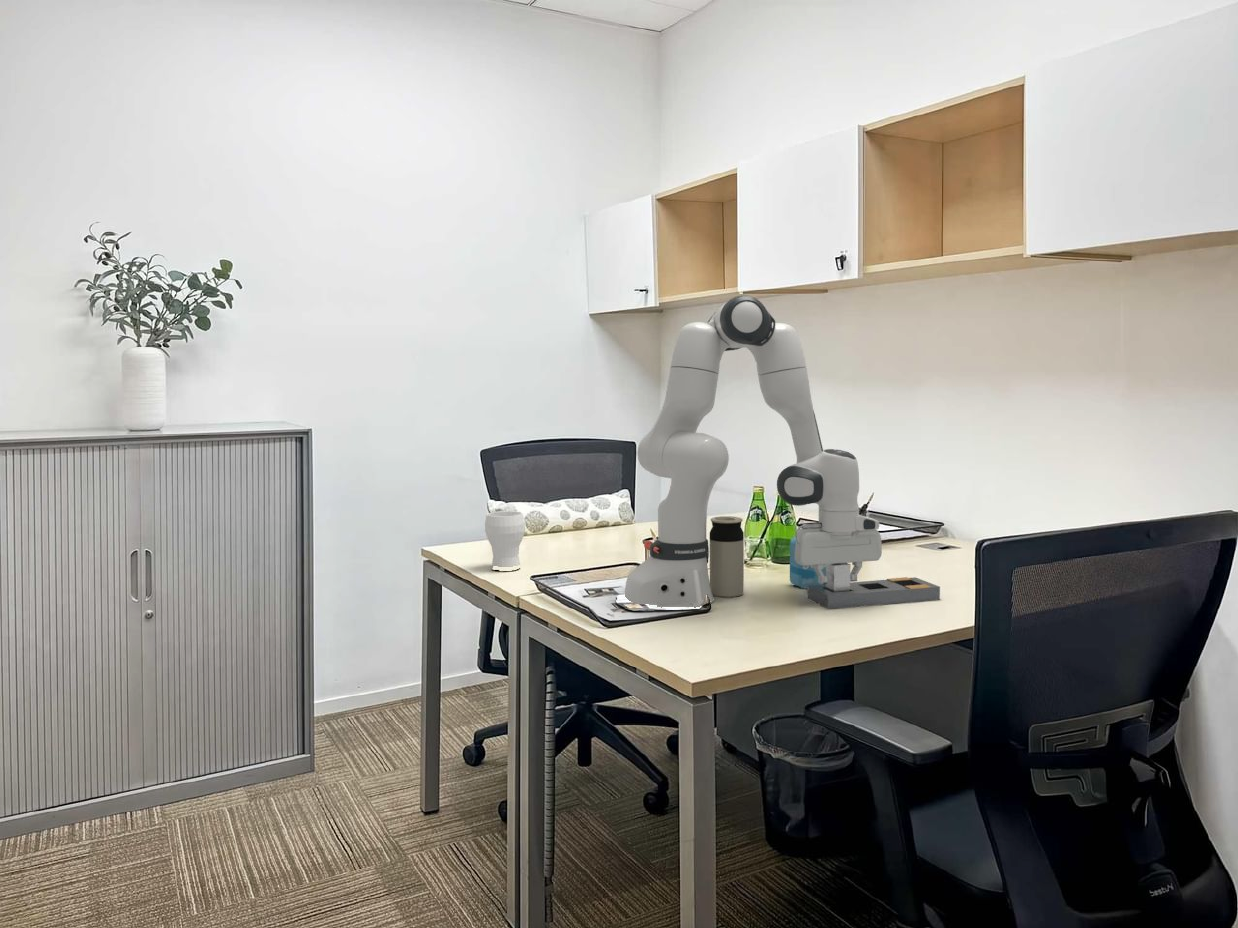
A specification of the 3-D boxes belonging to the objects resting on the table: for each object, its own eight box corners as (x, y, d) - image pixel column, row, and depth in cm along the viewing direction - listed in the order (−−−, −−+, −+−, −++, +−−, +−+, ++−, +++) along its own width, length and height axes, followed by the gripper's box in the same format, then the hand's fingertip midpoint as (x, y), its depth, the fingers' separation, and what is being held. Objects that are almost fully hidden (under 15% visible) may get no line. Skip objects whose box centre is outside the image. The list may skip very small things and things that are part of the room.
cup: (530, 571, 252) (529, 515, 250) (491, 574, 248) (490, 518, 246) (519, 563, 261) (518, 509, 260) (482, 566, 257) (480, 512, 256)
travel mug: (717, 599, 219) (716, 522, 217) (704, 591, 227) (704, 517, 225) (748, 596, 221) (749, 520, 219) (735, 588, 229) (735, 515, 227)
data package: (798, 589, 228) (799, 539, 227) (789, 585, 232) (789, 536, 231) (841, 584, 232) (842, 536, 231) (831, 580, 236) (831, 533, 235)
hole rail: (827, 609, 209) (828, 594, 208) (807, 598, 218) (807, 584, 218) (939, 599, 216) (940, 585, 216) (915, 589, 226) (915, 576, 225)
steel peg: (833, 605, 212) (834, 565, 211) (825, 600, 216) (825, 562, 215) (849, 603, 213) (850, 564, 212) (841, 599, 217) (841, 560, 216)
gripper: (802, 526, 207) (801, 588, 209) (885, 521, 212) (884, 582, 214) (789, 522, 213) (789, 582, 215) (871, 517, 219) (870, 576, 220)
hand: (837, 582), depth 214 cm, fingers open, 6 cm apart
